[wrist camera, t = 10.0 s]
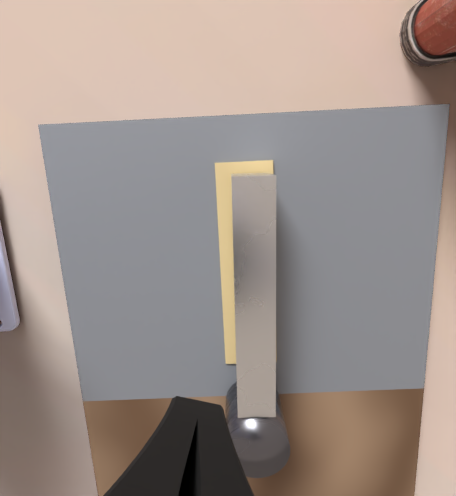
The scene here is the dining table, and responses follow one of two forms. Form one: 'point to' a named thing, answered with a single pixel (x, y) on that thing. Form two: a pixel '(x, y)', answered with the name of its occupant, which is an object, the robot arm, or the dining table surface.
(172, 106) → the dining table surface
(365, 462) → the plate
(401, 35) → the red tin can
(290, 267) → the door plate
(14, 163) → the dining table surface
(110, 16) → the dining table surface
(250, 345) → the lock bar
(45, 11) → the dining table surface
